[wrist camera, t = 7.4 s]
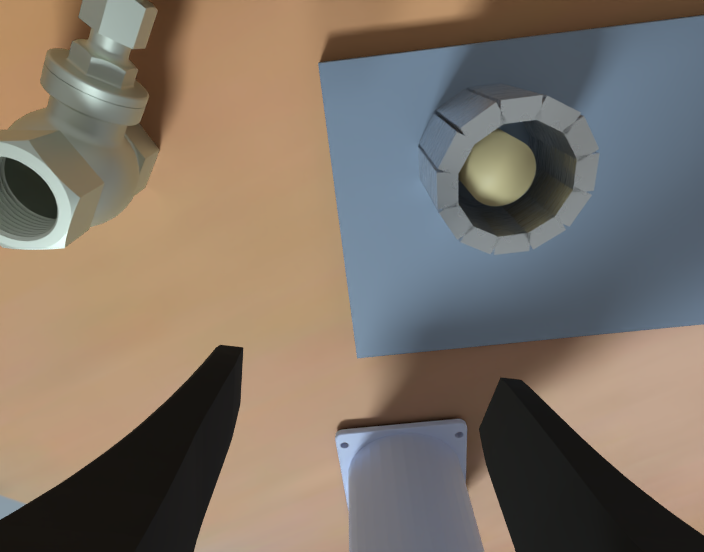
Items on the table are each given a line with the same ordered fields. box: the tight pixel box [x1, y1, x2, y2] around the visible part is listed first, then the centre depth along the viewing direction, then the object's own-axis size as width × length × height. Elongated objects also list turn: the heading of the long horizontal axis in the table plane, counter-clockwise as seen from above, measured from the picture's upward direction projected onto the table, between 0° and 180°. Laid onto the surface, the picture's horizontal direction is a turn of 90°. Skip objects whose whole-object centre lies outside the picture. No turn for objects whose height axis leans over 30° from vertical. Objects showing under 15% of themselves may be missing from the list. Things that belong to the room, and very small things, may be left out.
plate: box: [318, 15, 704, 358], centre depth 18 cm, size 14×24×4 cm, turn 96°
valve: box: [0, 0, 159, 250], centre depth 14 cm, size 7×7×12 cm
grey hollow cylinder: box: [418, 83, 600, 255], centre depth 16 cm, size 5×5×4 cm
